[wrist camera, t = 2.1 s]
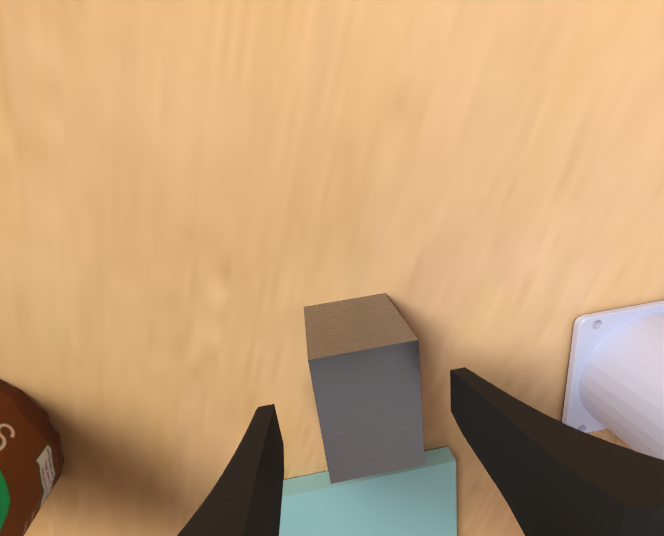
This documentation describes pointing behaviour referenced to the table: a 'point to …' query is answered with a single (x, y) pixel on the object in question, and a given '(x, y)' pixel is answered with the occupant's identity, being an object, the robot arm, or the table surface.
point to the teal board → (375, 502)
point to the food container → (25, 459)
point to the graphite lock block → (365, 386)
